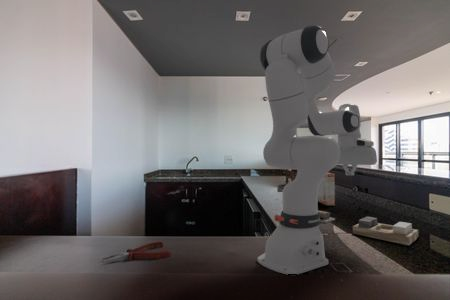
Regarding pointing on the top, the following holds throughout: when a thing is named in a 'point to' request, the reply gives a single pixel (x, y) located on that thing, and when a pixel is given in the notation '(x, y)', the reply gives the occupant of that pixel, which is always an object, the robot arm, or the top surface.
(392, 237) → the rack
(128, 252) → the pliers
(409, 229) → the white rectangular block
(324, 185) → the cracker box
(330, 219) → the packaged product
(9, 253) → the top surface
